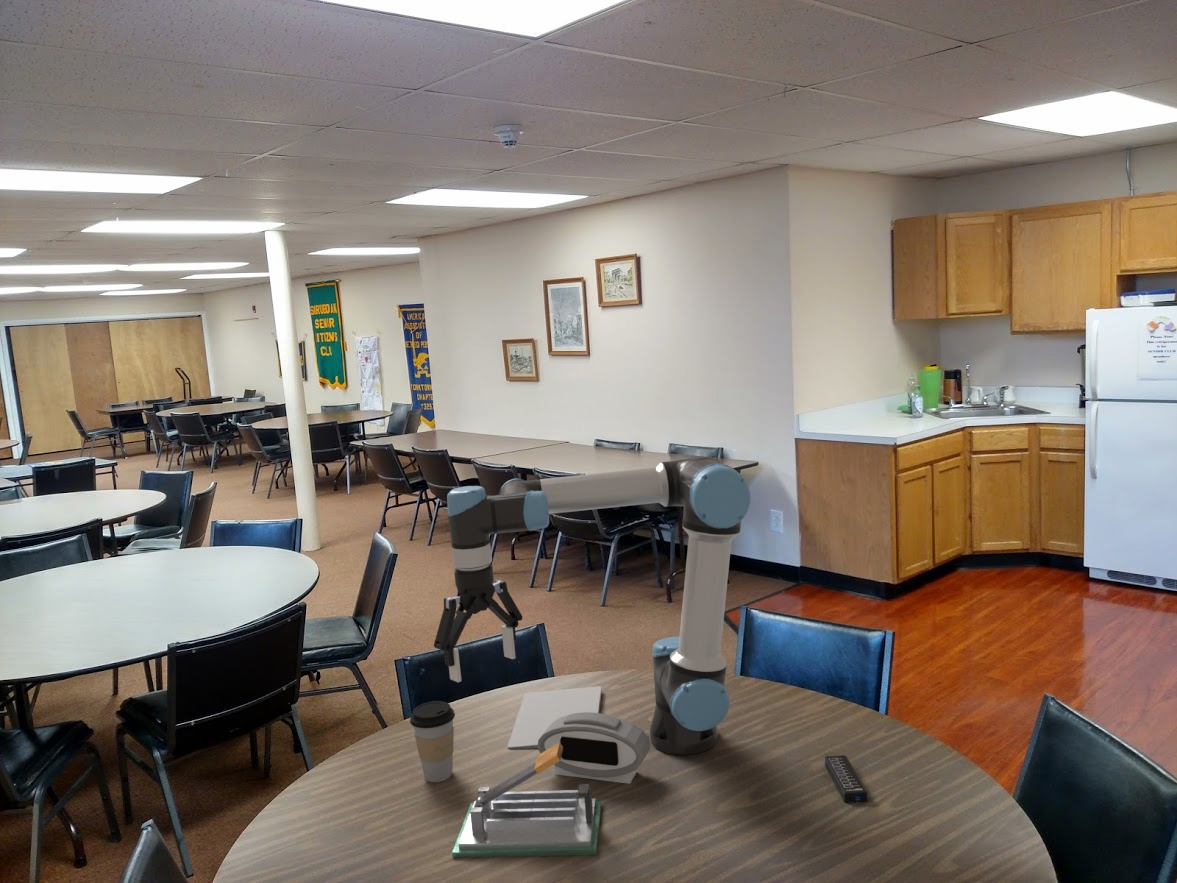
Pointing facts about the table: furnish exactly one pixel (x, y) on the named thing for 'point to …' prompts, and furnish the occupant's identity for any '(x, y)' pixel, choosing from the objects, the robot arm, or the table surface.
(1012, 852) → the table surface
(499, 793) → the orange tipped grey lever
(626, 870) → the table surface
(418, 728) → the coffee cup
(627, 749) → the alarm clock
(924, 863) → the table surface
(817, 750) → the table surface
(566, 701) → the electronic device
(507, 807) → the heatsink
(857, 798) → the multiport hub
